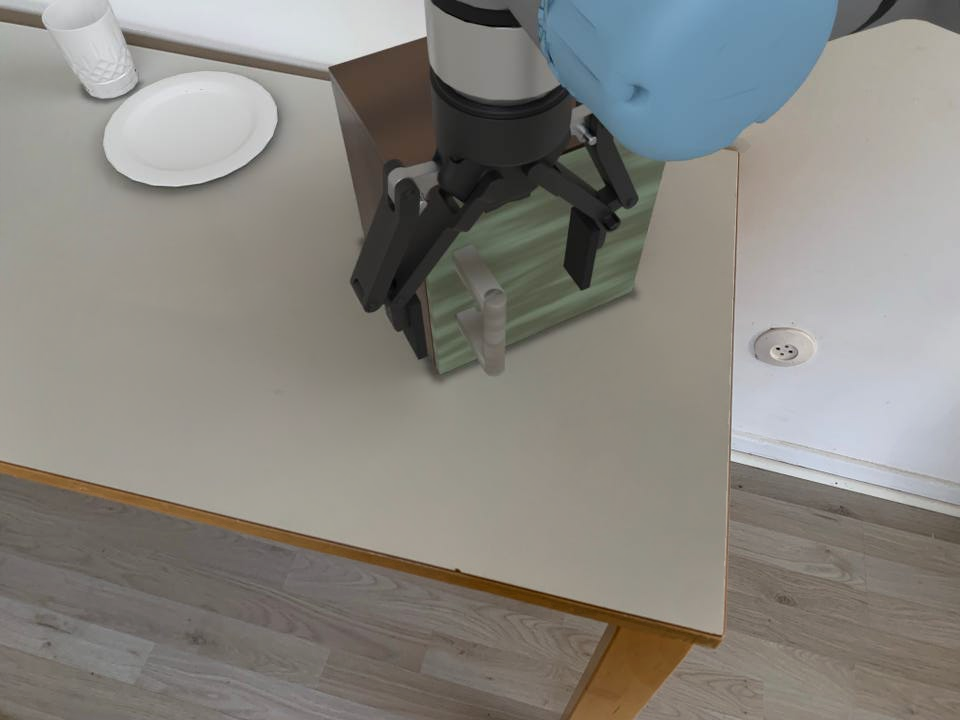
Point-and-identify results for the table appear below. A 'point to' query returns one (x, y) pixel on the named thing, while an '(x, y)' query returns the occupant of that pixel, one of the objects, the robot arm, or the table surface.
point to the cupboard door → (531, 268)
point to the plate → (190, 129)
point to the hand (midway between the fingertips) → (498, 310)
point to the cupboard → (389, 126)
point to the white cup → (92, 45)
